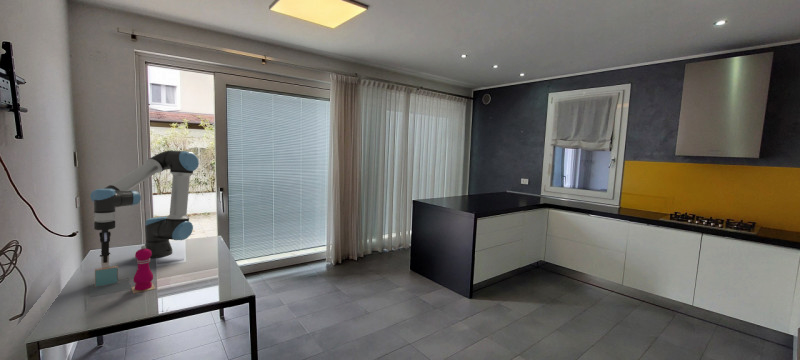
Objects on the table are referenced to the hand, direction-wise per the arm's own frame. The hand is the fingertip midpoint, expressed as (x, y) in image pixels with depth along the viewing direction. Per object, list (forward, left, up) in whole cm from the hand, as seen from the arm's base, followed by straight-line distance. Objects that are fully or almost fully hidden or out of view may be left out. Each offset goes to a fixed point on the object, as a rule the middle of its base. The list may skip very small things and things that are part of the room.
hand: (105, 268), depth 156 cm
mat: (-1, +12, -6) cm, 13 cm away
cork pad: (-12, +22, -6) cm, 26 cm away
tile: (0, +7, -6) cm, 9 cm away
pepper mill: (-12, +22, -6) cm, 26 cm away
